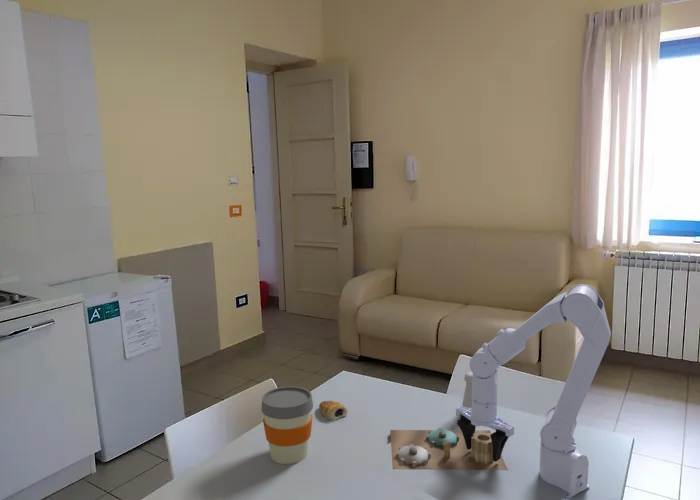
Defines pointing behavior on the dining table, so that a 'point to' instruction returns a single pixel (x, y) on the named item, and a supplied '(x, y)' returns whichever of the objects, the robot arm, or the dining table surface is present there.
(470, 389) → the salt shaker
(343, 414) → the pastry
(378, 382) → the dining table surface
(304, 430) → the reusable coffee cup
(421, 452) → the gear board
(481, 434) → the wooden gear
